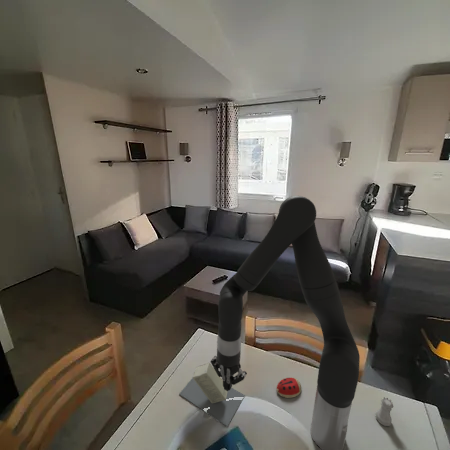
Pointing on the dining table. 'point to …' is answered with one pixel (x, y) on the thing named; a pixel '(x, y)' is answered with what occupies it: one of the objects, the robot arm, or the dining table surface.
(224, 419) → the mat
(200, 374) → the skincare box
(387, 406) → the rook chess piece
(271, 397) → the dining table surface
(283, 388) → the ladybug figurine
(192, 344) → the dining table surface
